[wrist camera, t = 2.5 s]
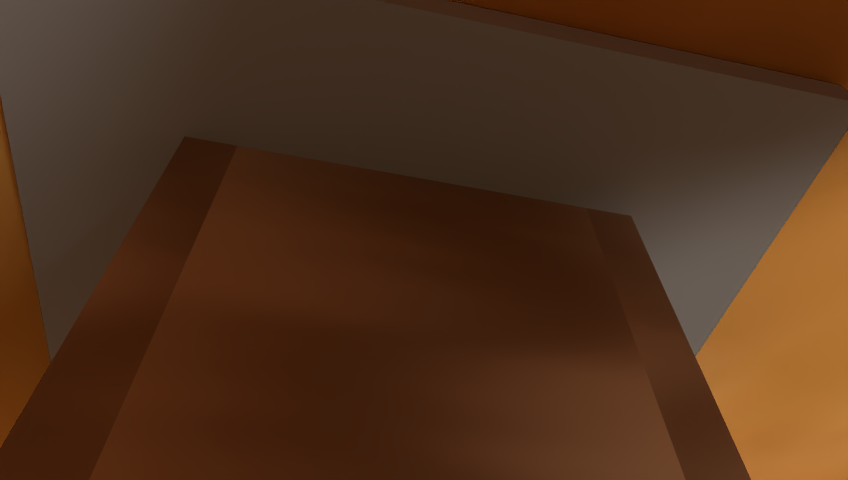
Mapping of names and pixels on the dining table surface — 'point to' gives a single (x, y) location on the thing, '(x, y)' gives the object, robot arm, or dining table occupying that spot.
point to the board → (403, 123)
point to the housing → (369, 339)
